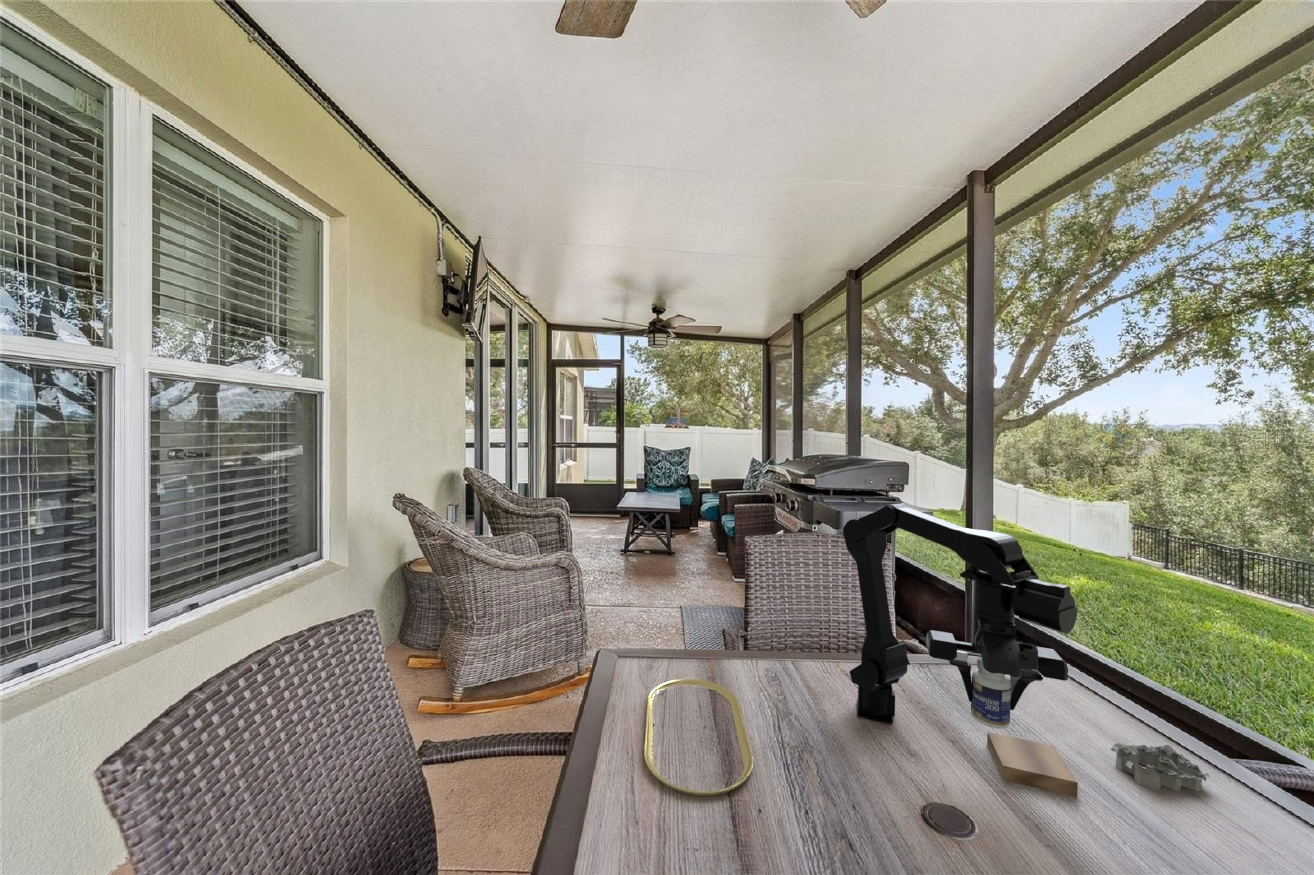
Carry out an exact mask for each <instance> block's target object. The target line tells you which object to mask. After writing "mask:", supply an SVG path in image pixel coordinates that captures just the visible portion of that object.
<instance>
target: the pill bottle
mask: <svg viewBox="0 0 1314 875" xmlns="http://www.w3.org/2000/svg"><path fill="white" fill-rule="evenodd" d="M976 661H977V662H976V666H977V667H976V668H977V669H974V670H973V671H972V672H971V682H972V692H973V698H972V702H970V715H971V717H972V718H973V719H974V720H975V721H976V722H978V723H980V724H982V725H984V726H986V727H989V728H992V729H997V730H998V729H1000V730H1003V729H1007V728H1008V727H1009V726H1010V723H1011V722H1010V721H1011V710H1010V704H1011V682H1010V678H1008V676H1006V674H1000V673H996V674H994V673H990V672H988V671H986V670H985V669H984V667H983V661H982V657H978V658H977V660H976Z"/></svg>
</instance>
